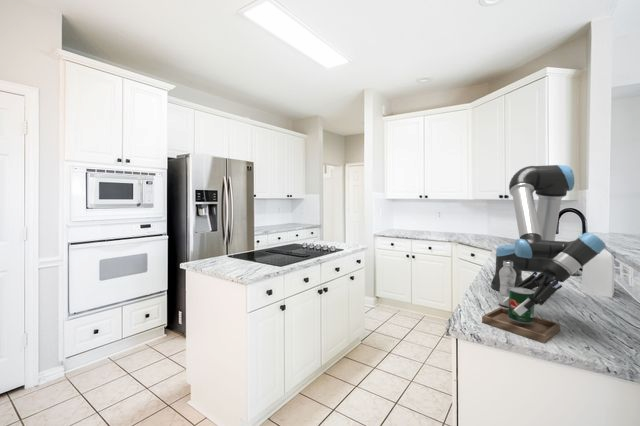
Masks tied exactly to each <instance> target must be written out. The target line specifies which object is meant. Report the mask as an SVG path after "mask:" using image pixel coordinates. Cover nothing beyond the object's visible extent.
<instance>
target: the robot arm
mask: <svg viewBox="0 0 640 426" xmlns="http://www.w3.org/2000/svg"><path fill="white" fill-rule="evenodd" d="M574 187H575V174H574V171H573V169H572V168H571V167H570V166H569V165H564V164H563V165H562V164H555V165H554V164H553V165H552V164H551V165H528V166H525V167H522V168H520V169H519V170H517V171H516V172H515V173H514V175H512V177H511V179H510V182H509V185H508V190H509V194H510V196H511V197H512V200H513V206H514V211H515V216H516V217H515V218H516V224H517V228H518V236H519V238H517V239H515V240H514V244H502V245H499V246H497V247H496V251H495V271H494V272H495V273H494V275H493V278H492V279H491V282H490V287H491V289H493V290H495V291H498V292H500V277H499V271H500V269H501V268H502V267H503V266H504V265H503V261H512V262H513V266H512V267H513V269H514V270H515V272H516V280H515V286H514V287H520V288H526V289H530V290H534V289H535V291H534V292H535V293H534V294H533V295H532V297H529V298H530V299H531V300H530V299H529V298H527V299H526V300H525V301H524V302H523V303H521V304H520V305H519V306H518V307H516V308H515V309H514V311H515V312H516V313H517V314H518V315H519V316H521V315H522V314H523V313H525V312H526V311H527V310H528V309H530V308H531V307H532V306H534V307H535V305H539V306H542V305H543V304H545V303H546V302H547V301H548V300H549V299H550V298H551V296H553V295H554V294H555V292H557V291H558V290H560V289H561V288H562V287H563V285H562V284H560V283H564V282H565V281H566V280H568V279H569V278H570V277H571V275H574V274H575V273H576V272H578V271H579V270H580V269H581V268H583V266H584V265H585V264H586V263H588V262H589V261H590V260H591V259H593V258H594V257H595V256H596V255H598V254H600V252H601V251H602V250H603V249H604V248H605V249H606V247H607V246H606V243H605V241H603V239H601V238H600V237H598V236H597V235H595V234H593V233H590V232H584V233H583V234H581V235H580V236H578V237H577V238H576V239H575V240H570V241H562V240H556V234H557V228H558V222H559V217H560V216H559V215H560V211H561V206H562V205H561V203H562V199H563V198H564V197H566V196H567V195H568V194H567V193H568V192H571V191H572V190H573V189H574ZM534 192H535V195H536V196H537V197H538V199H537V208H536V203H535V199H534V194H533V193H534ZM523 272H531V273H532V274H531V275H530V276H528V277H527V278H525V279H524V280H523V276H522V273H523ZM503 302H504V303H505V304H506V305H507V306H508V308H509V297H508V298H506V299H505V300H504V301H503ZM507 306H506V307H507Z"/></svg>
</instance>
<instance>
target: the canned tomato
mask: <svg viewBox="0 0 640 426" xmlns="http://www.w3.org/2000/svg"><path fill="white" fill-rule="evenodd" d="M534 293H535V291H534V289H532V290H530V289H526V288H520V287H511V288H509V307H508V308H507V309H508V318H509V319H511V320H513V321H516V322H519V323H526V324H529V323H533V317H535V314H534V313H535V305H534V306H532V307H531V308H530V309H528V310H527V311H526V312H525V313H523V314H522V315H521V316H519V315H518V314H517V313H516V312H515V311H514V309H515V308H516V307H518V306H519V305H520V304H521V303H523V302H524V301H525V300H526V299H527V298H529V297H532V295H533V294H534ZM529 299H530V298H529ZM530 300H531V299H530Z"/></svg>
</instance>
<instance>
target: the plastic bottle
mask: <svg viewBox="0 0 640 426" xmlns="http://www.w3.org/2000/svg"><path fill="white" fill-rule="evenodd" d="M503 265H504V266H503V267H502V268H501V269H500V271H499V277H500V291H498V292H499V293H498V296H497V300H498V303H499V304H500V305H501V306H503V307H506V308H507V307H508V306H507V305H506V304H505V303H504V302H503V301H504V300H505V299H506V298H508V297H509V288H511V287H514V286H515V280H516V272H515V270H514V269H513V267H512V266H513V262H512V261H503ZM508 308H509V307H508Z"/></svg>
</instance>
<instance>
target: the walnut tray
mask: <svg viewBox="0 0 640 426" xmlns="http://www.w3.org/2000/svg"><path fill="white" fill-rule="evenodd" d="M508 309H509V308H507V307H506V308H505V307H497V308H496V309H494V310H492V311H490V312H488V313H486V314H483V315H482V316H481V318H482V319H481V323H482V324H486V325H489V326H491V327H495V328H497V329H500V330H504V331H507V332H509V333H513V334H515V335H518V336H521V337H524V338H528V339H531V340H533V341H537V342H540V343H542V344H546V343H547V342H548V341H549V340H550V339H551V340H552V338H553V337H554V336H556V335H557V334H558V333H560V331H561V323H559V322H556V321H552V320H547V319H544V318H542V317H541V318H540V317H537V316H534V317H533V323H529V324H526V323H519V322H516V321H513V320H511V319H509V318H508Z"/></svg>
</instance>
